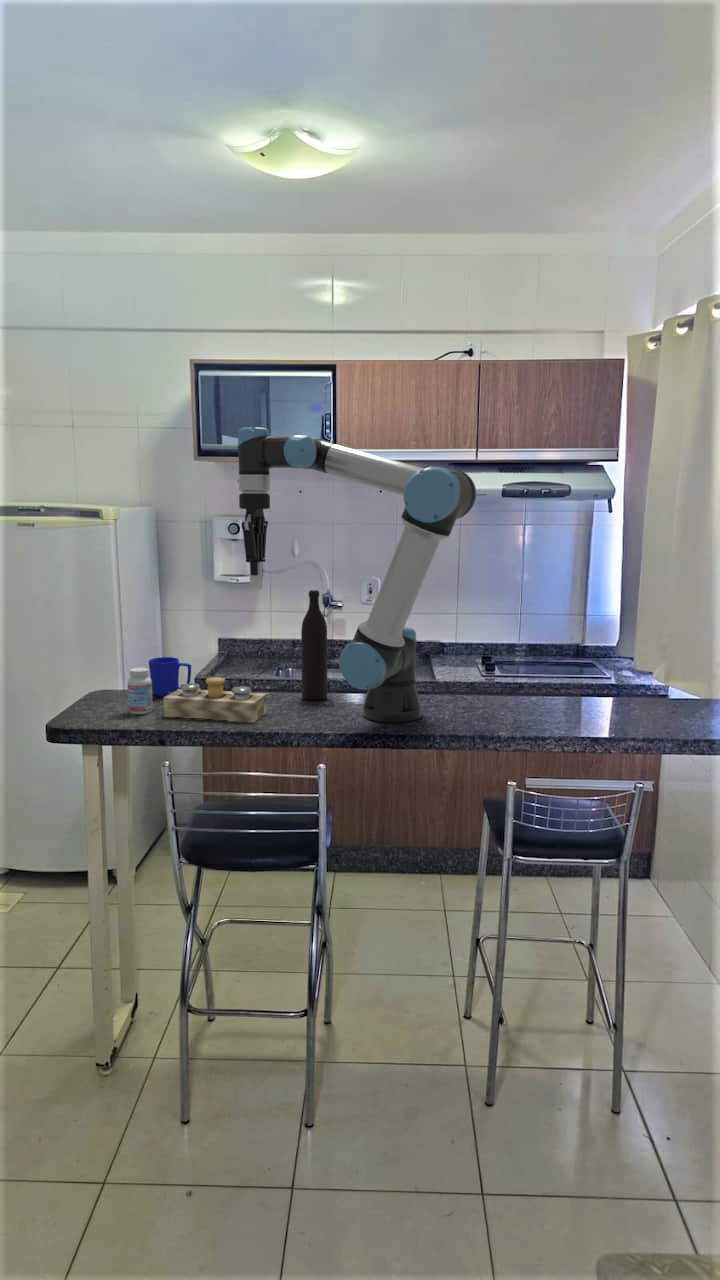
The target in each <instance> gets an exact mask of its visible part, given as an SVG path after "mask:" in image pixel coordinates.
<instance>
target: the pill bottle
mask: <svg viewBox="0 0 720 1280" xmlns="http://www.w3.org/2000/svg"><path fill="white" fill-rule="evenodd" d="M149 675H150V669H149V668H147V667H135V668H134V667H133V668H130V669H129V676H130V677H129V678H128V680H127V681H126V682H127V703H128V707H127V708H128V713H130V714H132V715H145V714H146V715H147V714H149V713H152V711H153V708H154V707H153V692H152V681H151V677H150V676H149Z"/></svg>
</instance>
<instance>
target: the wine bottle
mask: <svg viewBox="0 0 720 1280" xmlns="http://www.w3.org/2000/svg"><path fill="white" fill-rule="evenodd" d="M319 597H320V591H319V590H317V589H316V590H315V589H312V590H309V591H308V598H309V604H308V610H307V611H306V613H305V616H304V618H303V620H302V623H301V638H300V639H301V697H302V699H303V700H305V701H309V702H319V701H323V700H326V699H327V698H328V625H327V622H326V619H325V616H324V615H323V613H322V611H321V609H320V602H319Z"/></svg>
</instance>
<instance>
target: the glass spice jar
mask: <svg viewBox="0 0 720 1280" xmlns="http://www.w3.org/2000/svg"><path fill="white" fill-rule="evenodd" d="M231 691H232V693H234V699H237V700H248V699H249V693H252V688H251V687H250V686H246V685H244V686H241V685H240V686H234V687H232V688H231Z"/></svg>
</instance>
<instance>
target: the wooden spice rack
mask: <svg viewBox="0 0 720 1280" xmlns="http://www.w3.org/2000/svg"><path fill="white" fill-rule="evenodd" d="M162 698H163V700H162V701H163V717H164V718H175V717H190V718H207V719H208V718H209V719H219V720H228V721H227V722H234V721H235V722H236V723H249V724H254V723H256V722H257V721H258V720H259V719H261V718H262V717H263V716H264V715H265V714H267V713H268V693H263V692H250V693H249V699H248V700H237V699H234V693H232V690H231V691H229V690H228V691H227V690H223V698H208V689H200V688H199V689H198V696H196V697H189V696H183V691H182V690H181V689H178V690H177V691H175V692H173V693H171V694H169V695H167V696H165V697H162ZM190 718H189V719H190ZM219 720H218V721H219ZM235 722H234V723H235Z"/></svg>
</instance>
